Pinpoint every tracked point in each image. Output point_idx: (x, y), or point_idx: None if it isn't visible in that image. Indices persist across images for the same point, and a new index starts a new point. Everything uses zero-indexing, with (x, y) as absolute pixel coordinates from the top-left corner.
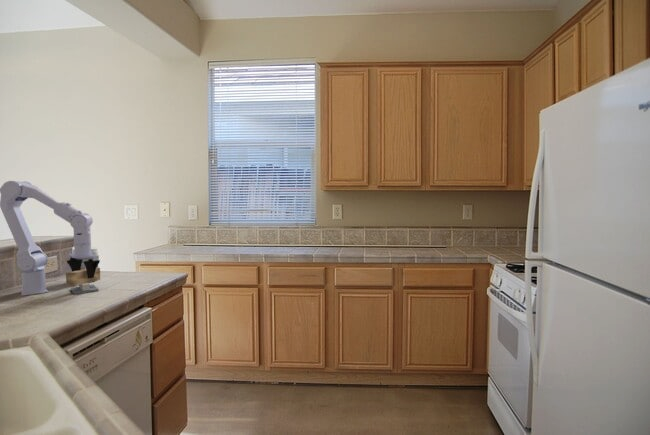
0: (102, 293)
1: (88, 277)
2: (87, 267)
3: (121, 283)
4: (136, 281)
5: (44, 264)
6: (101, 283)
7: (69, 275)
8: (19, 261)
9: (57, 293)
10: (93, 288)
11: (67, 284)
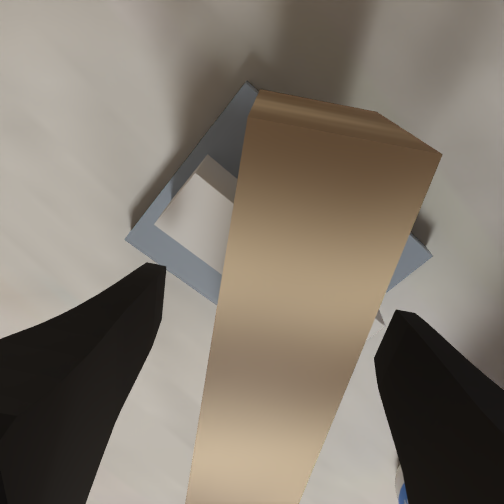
0: (15, 160)
1: (147, 266)
2: (41, 342)
3: (157, 427)
4: (104, 469)
5: None
6: None
7: (327, 122)
8: None
9: (471, 96)
10: (183, 250)
11: (360, 111)
